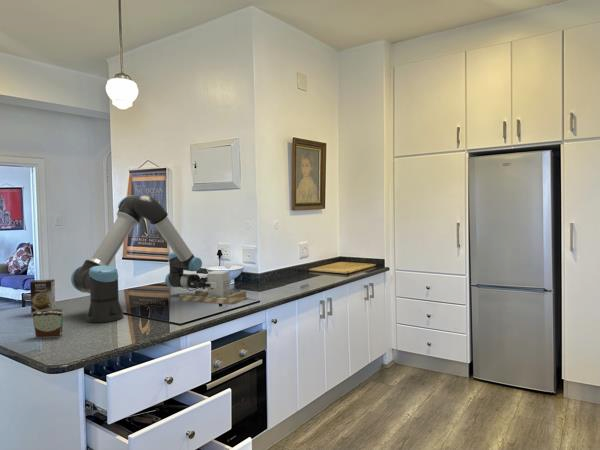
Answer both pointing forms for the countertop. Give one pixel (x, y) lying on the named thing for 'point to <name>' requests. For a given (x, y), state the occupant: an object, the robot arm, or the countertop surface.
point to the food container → (48, 322)
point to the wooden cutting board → (214, 297)
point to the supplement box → (219, 284)
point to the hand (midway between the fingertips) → (223, 283)
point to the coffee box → (42, 295)
